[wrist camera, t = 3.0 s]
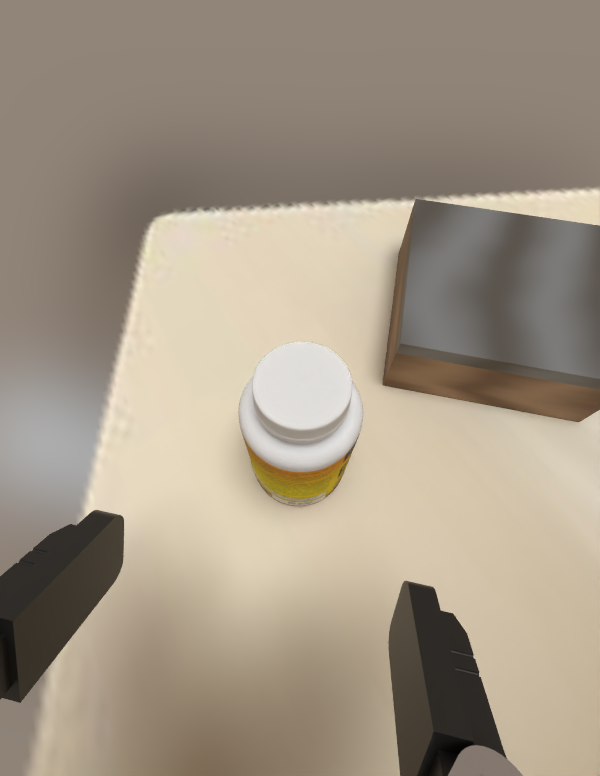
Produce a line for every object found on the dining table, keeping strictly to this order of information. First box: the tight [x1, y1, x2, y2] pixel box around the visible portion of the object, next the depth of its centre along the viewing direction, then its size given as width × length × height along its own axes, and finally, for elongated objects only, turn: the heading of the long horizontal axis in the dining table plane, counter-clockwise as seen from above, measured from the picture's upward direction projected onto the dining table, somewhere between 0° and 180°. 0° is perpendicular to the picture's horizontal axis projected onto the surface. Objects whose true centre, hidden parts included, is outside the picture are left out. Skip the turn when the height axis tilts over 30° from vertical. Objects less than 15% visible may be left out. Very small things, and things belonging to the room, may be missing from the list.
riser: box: [383, 199, 600, 422], centre depth 27 cm, size 13×13×5 cm
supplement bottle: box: [239, 342, 363, 506], centre depth 19 cm, size 6×6×10 cm
